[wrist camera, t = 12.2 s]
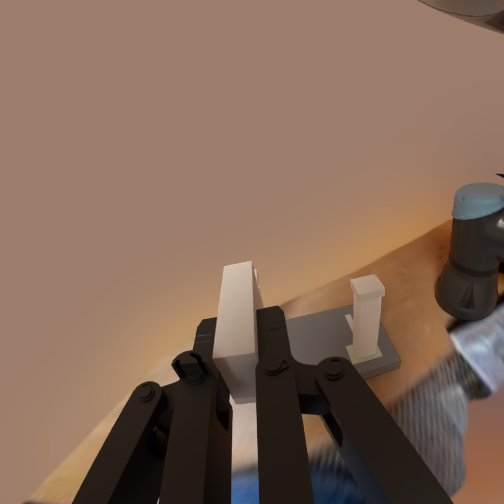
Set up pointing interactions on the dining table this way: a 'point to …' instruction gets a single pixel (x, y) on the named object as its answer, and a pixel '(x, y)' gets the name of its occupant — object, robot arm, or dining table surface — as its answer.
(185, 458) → the robot arm
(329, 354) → the switch panel
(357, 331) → the lever
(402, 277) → the dining table surface
